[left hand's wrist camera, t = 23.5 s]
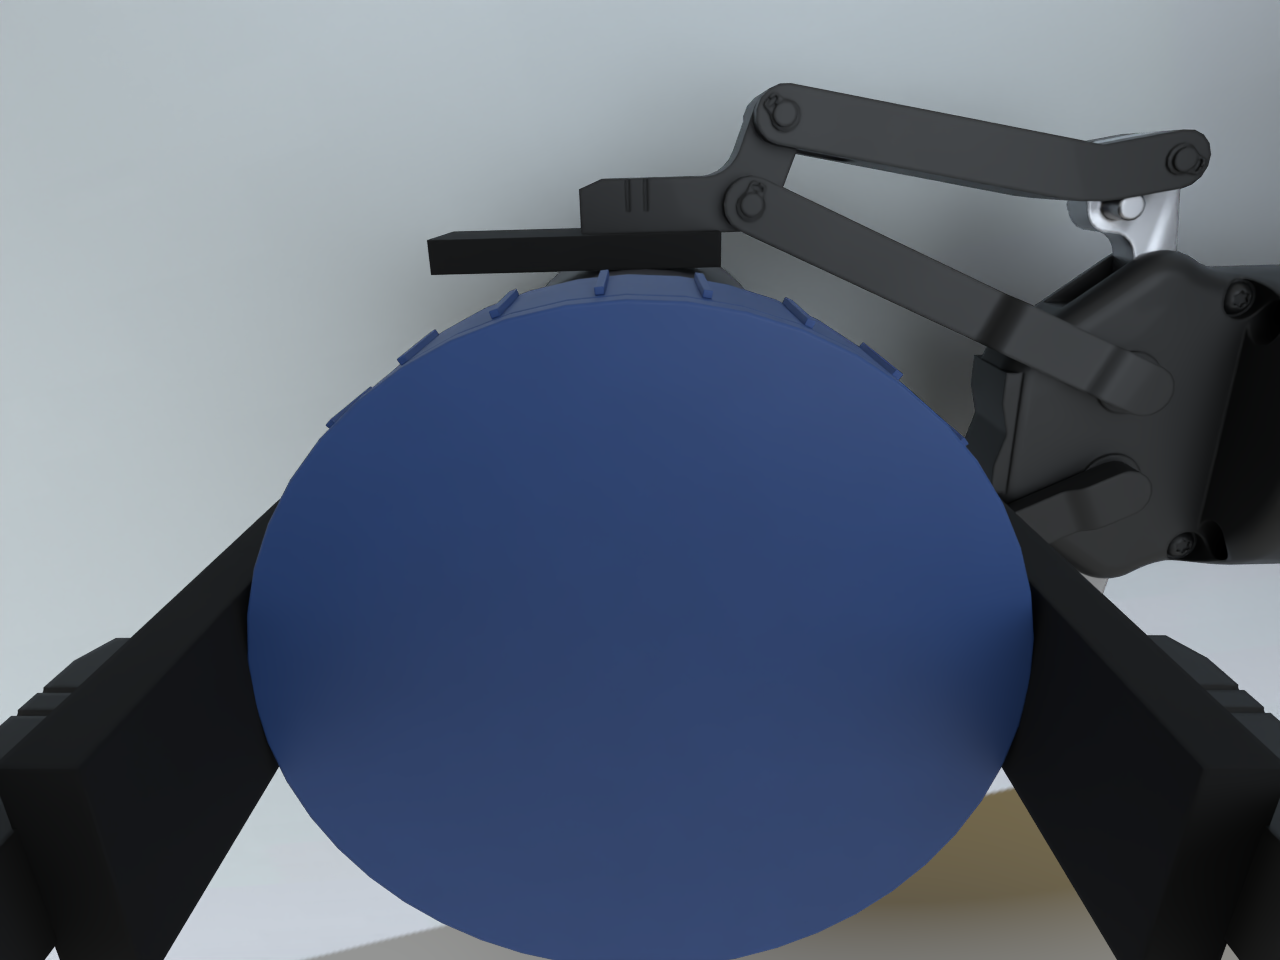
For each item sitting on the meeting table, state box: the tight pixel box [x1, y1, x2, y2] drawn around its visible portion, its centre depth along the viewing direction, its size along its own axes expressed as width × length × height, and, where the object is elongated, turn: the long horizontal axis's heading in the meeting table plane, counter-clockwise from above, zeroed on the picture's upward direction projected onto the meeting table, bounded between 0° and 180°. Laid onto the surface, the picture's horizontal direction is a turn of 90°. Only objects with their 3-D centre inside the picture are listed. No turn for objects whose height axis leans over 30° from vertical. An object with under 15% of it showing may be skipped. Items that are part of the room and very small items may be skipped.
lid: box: [247, 270, 1034, 960], centre depth 11 cm, size 10×10×2 cm
